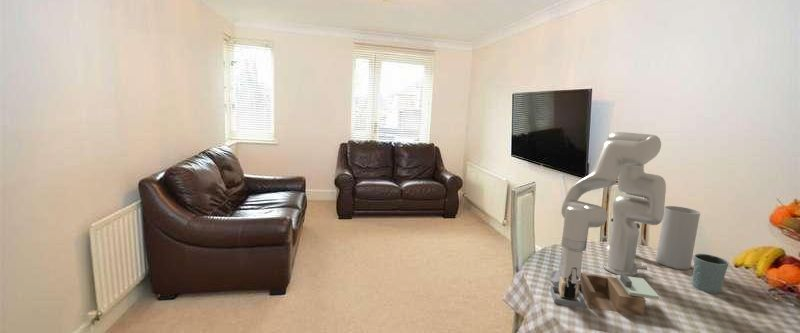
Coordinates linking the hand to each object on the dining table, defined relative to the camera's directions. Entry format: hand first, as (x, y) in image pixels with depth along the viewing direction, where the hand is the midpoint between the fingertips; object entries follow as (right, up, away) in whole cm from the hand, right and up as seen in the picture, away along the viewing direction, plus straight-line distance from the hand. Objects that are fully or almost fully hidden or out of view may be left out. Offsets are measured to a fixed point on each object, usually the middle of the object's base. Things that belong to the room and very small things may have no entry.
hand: (567, 293), depth 128 cm
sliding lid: (+22, +2, -2) cm, 23 cm away
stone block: (+4, -2, +13) cm, 14 cm away
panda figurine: (+49, +3, +52) cm, 72 cm away
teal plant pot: (+60, -4, +16) cm, 62 cm away
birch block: (0, 0, 0) cm, 0 cm away
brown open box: (+14, -4, 0) cm, 15 cm away
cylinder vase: (+64, 0, +38) cm, 75 cm away
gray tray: (0, -3, 0) cm, 3 cm away
